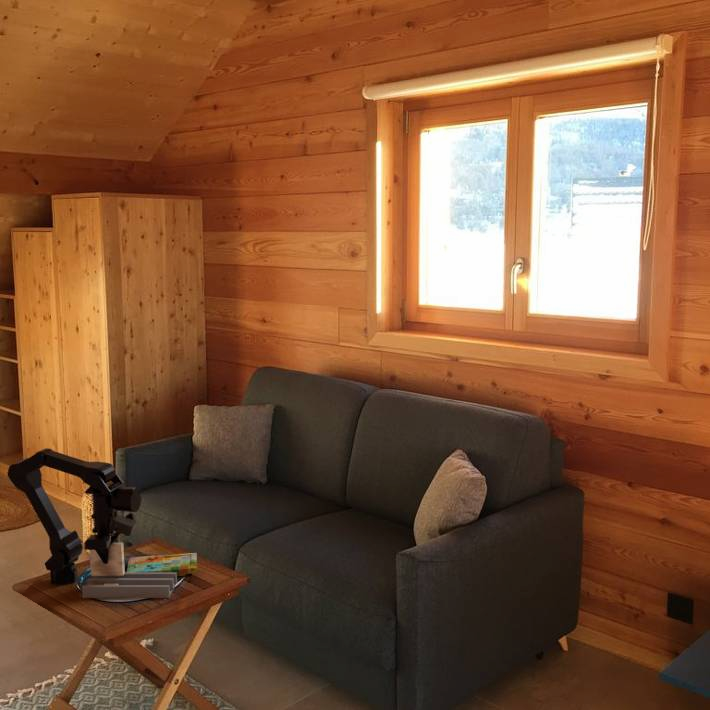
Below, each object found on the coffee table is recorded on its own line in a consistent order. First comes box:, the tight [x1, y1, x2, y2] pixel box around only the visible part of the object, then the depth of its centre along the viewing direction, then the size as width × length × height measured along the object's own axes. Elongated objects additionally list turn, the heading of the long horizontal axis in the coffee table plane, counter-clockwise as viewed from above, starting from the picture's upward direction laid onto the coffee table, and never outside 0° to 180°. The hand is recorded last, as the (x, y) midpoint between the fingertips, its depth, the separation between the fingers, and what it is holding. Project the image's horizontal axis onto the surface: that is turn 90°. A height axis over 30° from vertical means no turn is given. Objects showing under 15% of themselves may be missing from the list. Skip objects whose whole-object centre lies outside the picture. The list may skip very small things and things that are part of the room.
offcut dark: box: [86, 582, 103, 585], centre depth 245 cm, size 4×2×2 cm, turn 89°
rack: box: [81, 571, 178, 599], centre depth 246 cm, size 24×10×4 cm, turn 89°
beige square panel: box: [89, 542, 126, 577], centre depth 248 cm, size 9×2×9 cm, turn 89°
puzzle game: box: [126, 552, 198, 577], centre depth 260 cm, size 12×5×20 cm
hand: (107, 561), depth 248 cm, fingers closed on beige square panel, 2 cm apart
